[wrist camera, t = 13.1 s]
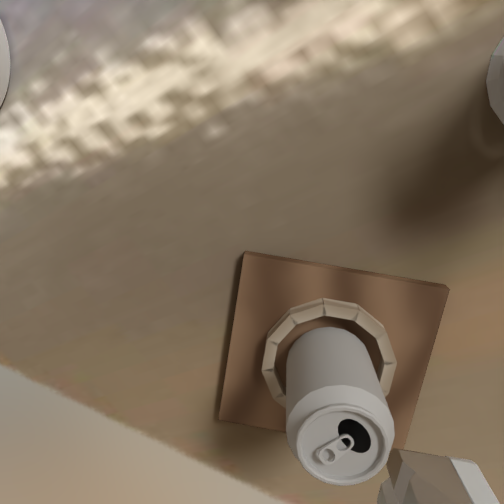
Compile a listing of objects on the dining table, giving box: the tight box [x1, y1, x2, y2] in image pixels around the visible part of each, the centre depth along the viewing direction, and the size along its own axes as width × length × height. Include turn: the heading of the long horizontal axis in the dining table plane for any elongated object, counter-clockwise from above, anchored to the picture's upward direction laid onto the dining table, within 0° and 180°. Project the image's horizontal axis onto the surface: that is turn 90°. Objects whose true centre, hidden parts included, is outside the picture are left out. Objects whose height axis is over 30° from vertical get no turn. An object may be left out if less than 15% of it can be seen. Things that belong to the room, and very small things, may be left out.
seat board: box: [218, 251, 450, 452], centre depth 41 cm, size 18×17×3 cm
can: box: [286, 327, 395, 486], centre depth 35 cm, size 8×8×12 cm
